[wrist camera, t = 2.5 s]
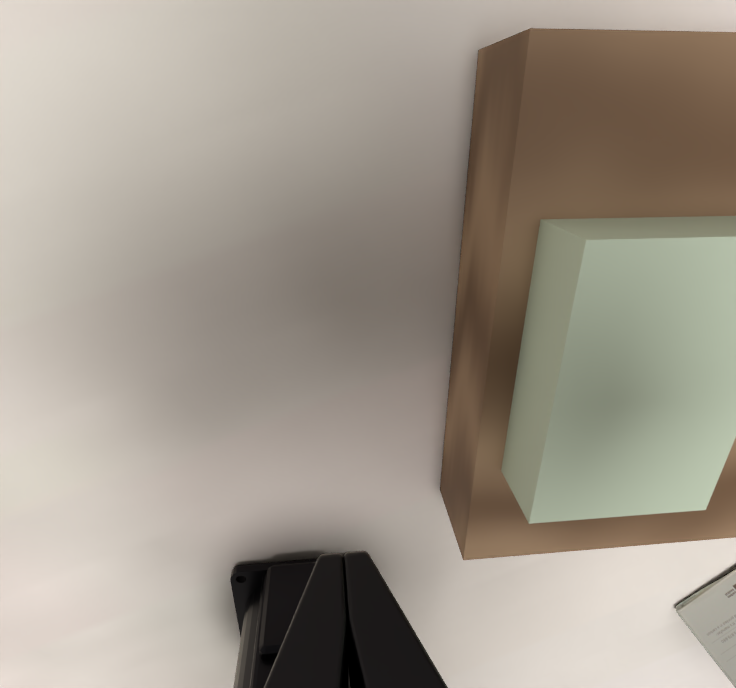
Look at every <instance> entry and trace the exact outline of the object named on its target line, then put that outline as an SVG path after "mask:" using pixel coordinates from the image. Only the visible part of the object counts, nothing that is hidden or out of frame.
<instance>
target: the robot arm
mask: <svg viewBox="0 0 736 688" xmlns="http://www.w3.org/2000/svg"><path fill="white" fill-rule="evenodd" d="M231 586H232V591H233V597H234V602H235V608H236V613H237V619H238V624H239V630H240V635H241V640H240V647H239V654H238V661H237V668H236V675H235V682H234V688H448V687H447V686H446V684H445V682H444V681H443V679H442V677H441V675H440V674H439V672H438V670H437V669H436V667H435V665H434V664H433V662H432V660H431V659H430V657H429V655H428V653H427V652H426V650H425V648H424V647H423V645H422V643H421V642H420V640H419V638H418V637H417V635H416V633H415V631H414V630H413V628H412V626H411V625H410V623H409V621H408V620H407V618H406V616H405V615H404V613H403V611H402V609H401V608H400V606H399V604H398V603H397V601H396V599H395V598H394V596H393V594H392V593H391V591H390V589H389V588H388V586H387V584H386V582H385V581H384V579H383V577H382V576H381V574H380V572H379V571H378V569H377V567H376V566H375V564H374V562H373V560H372V559H371V557H370V555H369V554H368V553H367V552H366V551H354V552H346V553H345V554H344V557H343V555H342V554H341V553H329V554H321V555H320V556H319V557H318V559H311V560H298V561H286V562H274V563H262V564H249V565H240V566H236V567H235V568H234V569H233V570H232V574H231Z"/></svg>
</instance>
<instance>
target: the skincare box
mask: <svg viewBox="0 0 736 688" xmlns="http://www.w3.org/2000/svg"><path fill="white" fill-rule="evenodd" d="M676 612H677V613H678V615H679V616H680V617H681V619H682V620H683V621H684V622H685V624H686V625H687V626H688V628H689V629H690V630H691V631H692V633H693V634H694V635H695V637H696V638H697V639H698V641H699V642H700V643H701V644H702V646H703V647H704V648H705V650H706V651H707V652H708V653H709V655H710V656H711V657H712V658H713V660H714V661H715V662H716V664H717V665H718V666H719V667H720V669H721V670H722V671H723V673H724V674H725V675H726V676H727V678H728V679H729V680H730V681H731V683H732V684H733V685H734V687H735V688H736V569H735V570H734V571H732V572H731V573H729V574H728V575H726V576H724V577H723V578H721V579H719V580H717V581H716V582H714V583H712V584H710V585H708V586H707V587H705V588H703V589H702V590H700V591H698V592H697V593H695V594H693V595H692V596H691V597H689V598H688V599H686V600H684V601H683V602H681V603H680V604H678V605H677V606H676Z"/></svg>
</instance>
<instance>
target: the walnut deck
mask: <svg viewBox="0 0 736 688" xmlns="http://www.w3.org/2000/svg"><path fill="white" fill-rule="evenodd" d="M699 216H736V32H689V31H637V30H586V29H534V28H530V29H528V30H525V31H523V32H521V33H518V34H516V35H513V36H511V37H509V38H506V39H504V40H502V41H499V42H497V43H494V44H492V45H490V46H487V47H485V48H482V49H480V50H479V51H478V62H477V73H476V85H475V96H474V108H473V119H472V131H471V142H470V153H469V165H468V176H467V188H466V199H465V210H464V222H463V233H462V245H461V256H460V267H459V279H458V290H457V302H456V313H455V325H454V336H453V347H452V359H451V370H450V382H449V393H448V404H447V416H446V427H445V439H444V450H443V462H442V473H441V484H440V491H441V494H442V497H443V500H444V503H445V506H446V509H447V512H448V515H449V518H450V521H451V524H452V527H453V530H454V533H455V536H456V540H457V543H458V546H459V549H460V552H461V555H462V558H463V560H471V559H483V558H495V557H507V556H519V555H530V554H542V553H554V552H566V551H578V550H590V549H602V548H614V547H626V546H638V545H650V544H662V543H673V542H685V541H697V540H709V539H721V538H733V537H736V438H735V440H734V443H733V445H732V447H731V450H730V452H729V455H728V457H727V459H726V462H725V464H724V467H723V469H722V472H721V474H720V476H719V479H718V481H717V484H716V486H715V489H714V491H713V493H712V496H711V498H710V501H709V503H708V505H707V508H706V510H699V511H686V512H673V513H660V514H647V515H635V516H622V517H609V518H596V519H583V520H570V521H557V522H545V523H532V524H529V523H528V521H527V519H526V517H525V515H524V513H523V511H522V509H521V508H520V506H519V504H518V502H517V500H516V498H515V496H514V494H513V492H512V490H511V488H510V487H509V485H508V483H507V481H506V479H505V477H504V475H503V473H502V471H501V469H502V462H503V456H504V450H505V443H506V437H507V430H508V424H509V418H510V411H511V405H512V399H513V392H514V386H515V379H516V373H517V367H518V360H519V354H520V348H521V341H522V335H523V328H524V322H525V316H526V309H527V303H528V297H529V290H530V284H531V277H532V271H533V265H534V258H535V252H536V245H537V239H538V233H539V226H540V220H541V219H589V218H644V217H699Z"/></svg>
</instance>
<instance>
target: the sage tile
mask: <svg viewBox="0 0 736 688" xmlns="http://www.w3.org/2000/svg"><path fill="white" fill-rule="evenodd" d="M735 438H736V216H699V217H644V218H589V219H541V220H540V226H539V233H538V239H537V245H536V252H535V258H534V265H533V271H532V277H531V284H530V290H529V297H528V303H527V309H526V316H525V322H524V328H523V335H522V341H521V348H520V354H519V360H518V367H517V373H516V379H515V386H514V392H513V399H512V405H511V411H510V418H509V424H508V430H507V437H506V443H505V450H504V456H503V462H502V469H501V471H502V473H503V475H504V477H505V479H506V481H507V483H508V485H509V487H510V488H511V490H512V492H513V494H514V496H515V498H516V500H517V502H518V504H519V506H520V508H521V509H522V511H523V513H524V515H525V517H526V519H527V521H528V523H529V524H532V523H545V522H557V521H570V520H583V519H596V518H609V517H622V516H635V515H647V514H660V513H673V512H686V511H699V510H706V508H707V505H708V503H709V501H710V498H711V496H712V493H713V491H714V489H715V486H716V484H717V481H718V479H719V476H720V474H721V472H722V469H723V467H724V464H725V462H726V459H727V457H728V455H729V452H730V450H731V447H732V445H733V443H734V440H735Z"/></svg>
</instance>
